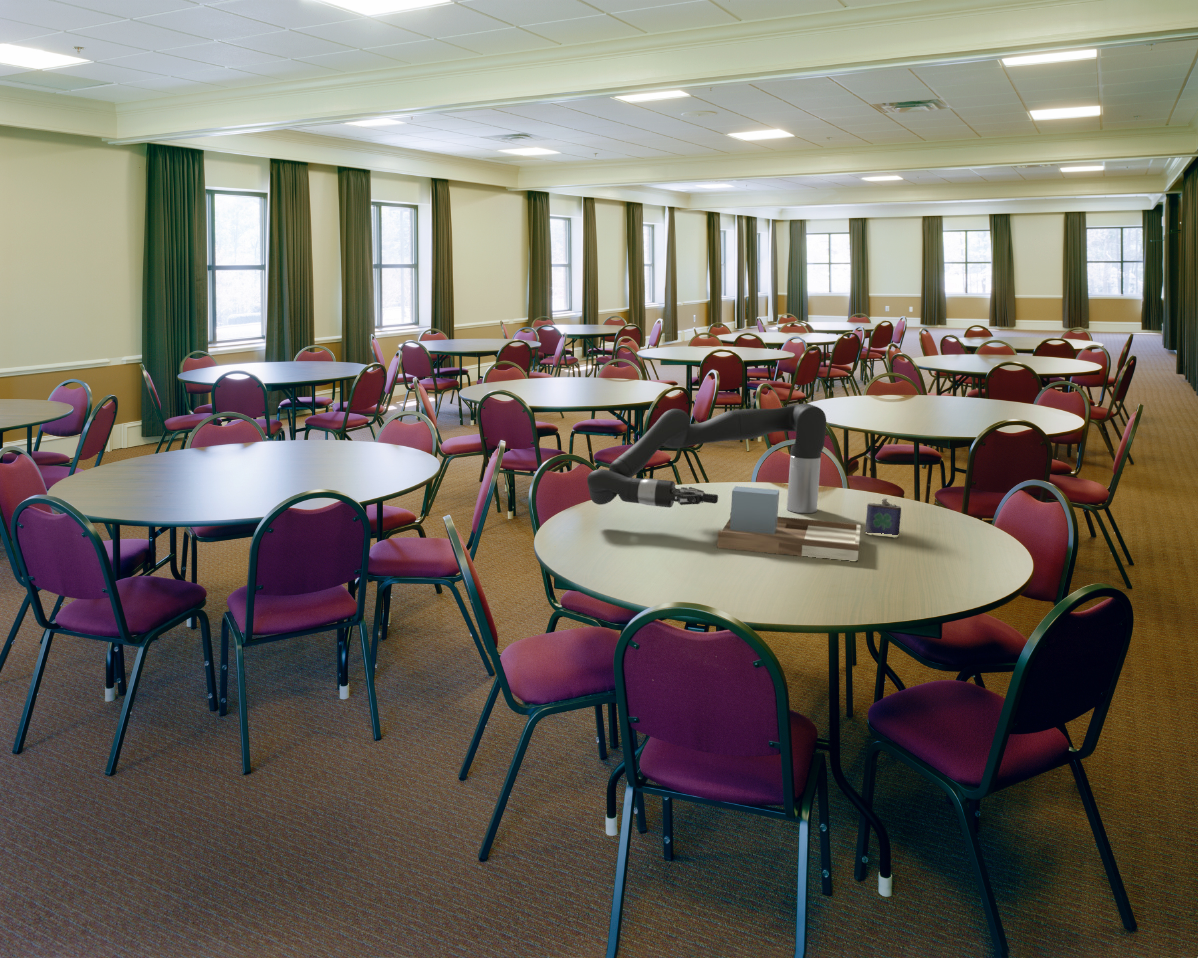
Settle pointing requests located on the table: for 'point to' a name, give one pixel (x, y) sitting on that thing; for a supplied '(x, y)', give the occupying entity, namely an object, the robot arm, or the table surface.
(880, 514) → the flask
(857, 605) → the table surface
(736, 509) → the block
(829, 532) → the board
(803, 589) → the table surface
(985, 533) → the table surface
